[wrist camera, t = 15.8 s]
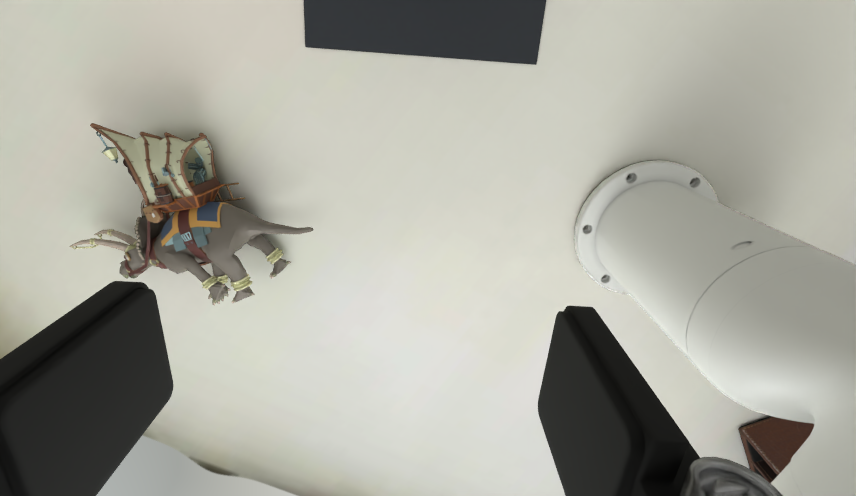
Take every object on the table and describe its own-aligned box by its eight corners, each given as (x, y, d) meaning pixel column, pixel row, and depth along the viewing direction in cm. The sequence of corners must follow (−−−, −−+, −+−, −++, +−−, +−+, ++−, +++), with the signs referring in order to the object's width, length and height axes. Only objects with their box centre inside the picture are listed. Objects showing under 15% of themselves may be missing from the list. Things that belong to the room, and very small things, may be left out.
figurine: (119, 345, 37) (-21, 163, 31) (162, 308, 43) (50, 148, 37) (324, 278, 34) (210, 57, 28) (342, 247, 39) (250, 58, 33)
